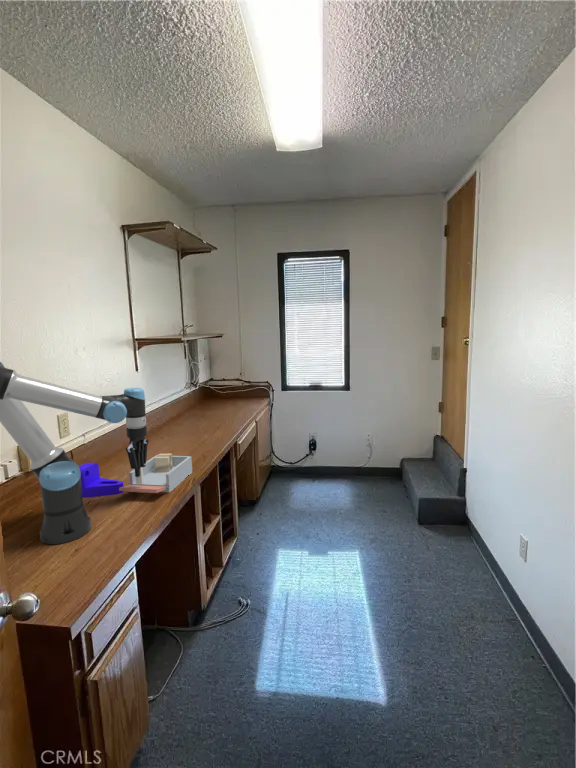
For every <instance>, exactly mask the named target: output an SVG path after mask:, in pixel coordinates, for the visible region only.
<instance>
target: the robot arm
mask: <svg viewBox="0 0 576 768" xmlns="http://www.w3.org/2000/svg"><path fill="white" fill-rule="evenodd" d="M24 402H26V403H30V404H34V405H39V406H44V407H47V408H53V409H57V410H62V411H64V412H65V411H66V412H69V413H75V414H79V415H84V416H88V417H90V418H96V419H100V420H104V421H106V422H107V423H111V424H119V423H121V422H123V421H124V420H125V427H126V438H128V439H129V442H128V443H129V445H128V447H125V451H126V453H127V456H128V461H129V466H130V469H132V470H134V469H135V479H136V484H143V483H144V476H143V467H145V466H146V465H144V464H146V462H147V458H148V457H147V456H148V445H149V439H146V436H147V435H148V432H147V430H148V429H147V426H146V425H147V418H146V417H147V414H146V396H145V390H144V389H143V388H141V387H129V388H124V390H123V393H122V394H113V395H95V394H93V393H88V392H86V391H82V390H77V389H73V388H69V387H67V386H62V385H59V384H55V383H51V382H47V381H43V380H40V379H35V378H31V377H29V376H28V377H27V376H24V375H21V374H18V373H17V371H16V370H15V369H11V368H8V367H5V365H4V364H3V363H2V361H0V424H1V425H2V426H3V427H4V430H6V431H7V432H8V434H9V435H10V437H11V438H12V440H14V441H15V443H16V444H17V445H18V446H19V448H20V450H22V452H23V453H24V454H25V456H26V457H27V458H28V460H30V465H29V469H30V470H31V472H32V473H33V474H34V475H35V477H36V478H37V479H38V482H39V486H40V491H41V492H40V493H41V501H42V510H43V519H42V522H41V528H40V530H39V537H40V541H41V542H42V543H43V544H48V545H57V544H58V545H59V544H65V543H68V542H69V543H70V542H71V541H74V540H77V539H79V538H81V537H84V535H86V534H88V533H89V532H90V530H91V529H92V520H91V518H90V517H89V515H88V513H87V511H86V509H85V506H84V497H82V487H81V477H80V476H81V472H80V469H79V466H80V465H78V464H77V463H76V462H75V460H73V458H71V457H70V456H69V455H68V454H67V453H66V451H65V450H64V449H63V448H62V447H58V446H56V445H55V444H54V443H53V441H52V440H51V439H50V438H49V436H48V435H47V433H46V432H45V430H43V428H42V427H41V425H40V424H39V423H38V422H37V420H36V418H35V417H34V416H33V414H32V413H31V412H30V410H29V409H28V407H26V405H25V404H24Z"/></svg>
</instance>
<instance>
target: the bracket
mask: <svg viewBox="0 0 576 768" xmlns="http://www.w3.org/2000/svg"><path fill="white" fill-rule="evenodd" d="M78 466H79V469H80V472H81V476H80V477H81V487H82V497H83V498H86V499H87V498H95V497H104V496H113V495H121V494H124V492H125V491H119V488H120V487H124V486H125V485H124V481H121V480H116V479H109V478H103V477H101V476H100V468H99V467H100V466H99V463H98V462H85V463H83V464H81V465H78Z"/></svg>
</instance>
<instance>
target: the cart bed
mask: <svg viewBox="0 0 576 768" xmlns="http://www.w3.org/2000/svg"><path fill="white" fill-rule="evenodd" d="M158 455H159V454H156V455H155V456H153V457H151V458H150V459H149V460H146V464H144V465H146V466H145V467H143V476H144V483H143V484H136V479H135V469H132V470H131V471H130V472H128V475H129V485H146V486H166V490H163V491H160V492H159V493H171V492H172V491H174V489H175V488H176V487H178V486H179V485H180V484H181V483H182V482H183V481H184V480H186V479H187V478H188V477H189V476H190V475H191V474H193V465H192V464H193V461H192V456H189V455H188V456H187V455H186V456H185V455H172V463H173V468H172V469H171V471H169V472H161V473H156V466H155V457H156V456H158ZM188 475H189V476H188ZM187 476H188V477H187ZM186 477H187V478H186ZM185 478H186V479H185Z"/></svg>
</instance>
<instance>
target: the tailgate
mask: <svg viewBox="0 0 576 768" xmlns="http://www.w3.org/2000/svg"><path fill="white" fill-rule="evenodd" d="M123 486H124V487H120V488H119V491H124V492H133V493H154V494H155V493H161V492H160V491H163V490H166V486H146V485H130V484H128V485H123Z"/></svg>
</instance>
